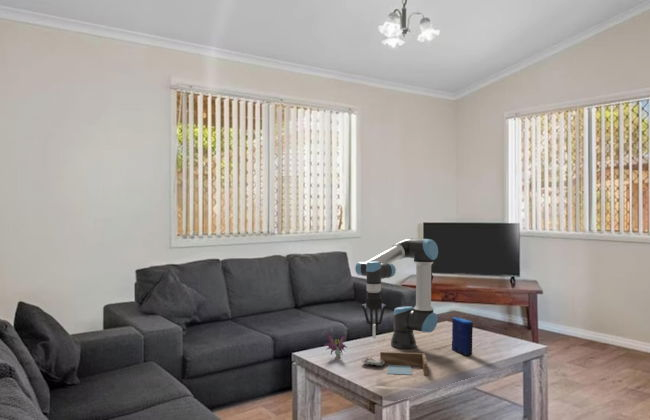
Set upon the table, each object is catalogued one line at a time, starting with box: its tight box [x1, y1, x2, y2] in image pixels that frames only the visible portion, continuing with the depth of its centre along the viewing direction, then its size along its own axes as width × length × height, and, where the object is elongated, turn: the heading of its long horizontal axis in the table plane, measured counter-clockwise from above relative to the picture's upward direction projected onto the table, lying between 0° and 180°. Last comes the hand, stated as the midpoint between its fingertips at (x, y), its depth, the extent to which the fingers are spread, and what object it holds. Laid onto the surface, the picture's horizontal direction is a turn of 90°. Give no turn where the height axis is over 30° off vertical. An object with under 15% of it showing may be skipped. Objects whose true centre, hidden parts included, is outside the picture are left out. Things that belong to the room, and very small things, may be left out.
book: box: [451, 316, 474, 356], centre depth 279 cm, size 14×5×20 cm, turn 22°
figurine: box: [323, 331, 348, 360], centre depth 269 cm, size 14×8×15 cm, turn 74°
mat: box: [387, 364, 413, 376], centre depth 248 cm, size 14×12×1 cm
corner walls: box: [379, 351, 428, 377], centre depth 250 cm, size 18×24×6 cm
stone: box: [361, 357, 385, 367], centre depth 256 cm, size 12×9×3 cm
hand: (374, 337), depth 250 cm, fingers closed
